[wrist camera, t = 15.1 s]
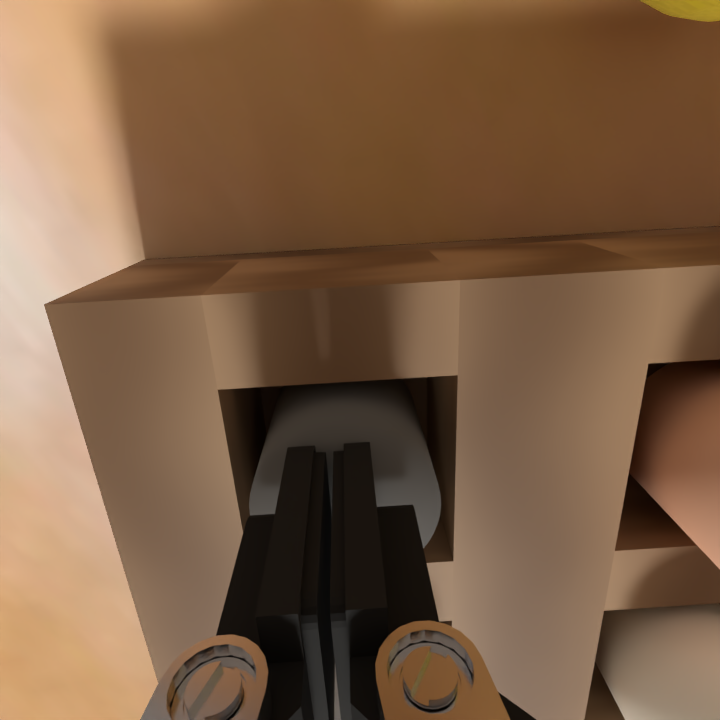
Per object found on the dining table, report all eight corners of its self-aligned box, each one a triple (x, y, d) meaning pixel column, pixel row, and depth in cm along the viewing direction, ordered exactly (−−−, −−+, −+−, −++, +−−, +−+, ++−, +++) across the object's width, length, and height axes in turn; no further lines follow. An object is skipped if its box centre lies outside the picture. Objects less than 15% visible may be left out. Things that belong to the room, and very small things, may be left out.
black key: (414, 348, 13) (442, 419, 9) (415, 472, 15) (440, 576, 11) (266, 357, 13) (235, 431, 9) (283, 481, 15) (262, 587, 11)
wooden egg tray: (831, 219, 14) (1072, 243, 9) (713, 620, 20) (825, 757, 15) (144, 259, 14) (43, 304, 9) (229, 652, 20) (193, 800, 15)
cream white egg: (723, 565, 14) (854, 703, 11) (696, 659, 16) (803, 808, 12) (590, 574, 14) (676, 715, 11) (575, 667, 16) (646, 819, 12)
